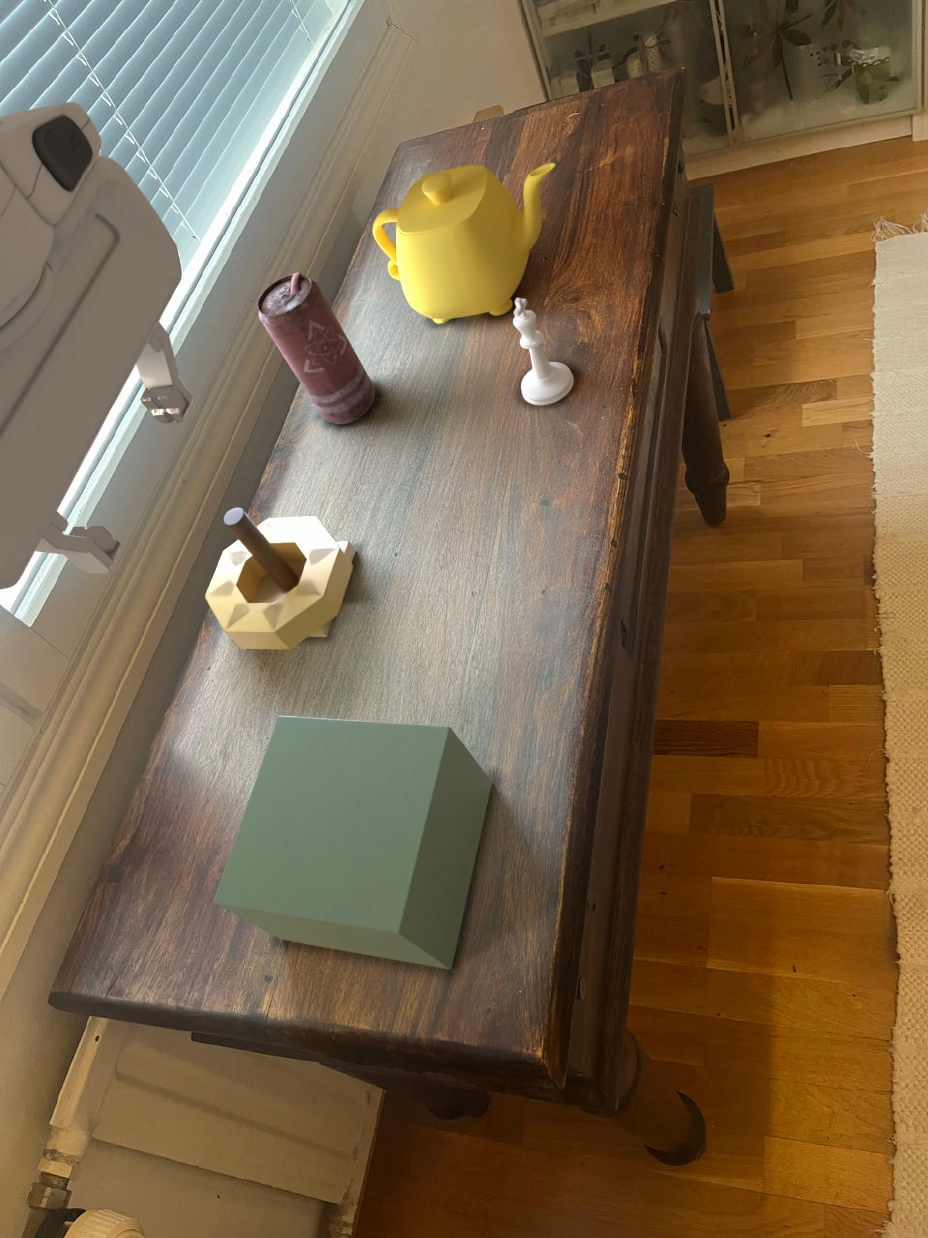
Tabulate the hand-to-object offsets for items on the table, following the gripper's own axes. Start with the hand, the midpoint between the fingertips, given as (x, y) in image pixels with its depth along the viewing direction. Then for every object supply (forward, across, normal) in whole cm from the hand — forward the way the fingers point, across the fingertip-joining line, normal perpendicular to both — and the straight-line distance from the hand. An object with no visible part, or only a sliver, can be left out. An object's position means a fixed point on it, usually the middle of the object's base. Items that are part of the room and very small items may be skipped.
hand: (144, 483), depth 46 cm
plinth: (+31, -9, -2) cm, 32 cm away
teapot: (+31, +52, +3) cm, 61 cm away
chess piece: (+31, +37, -6) cm, 49 cm away
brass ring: (+30, +13, +13) cm, 35 cm away
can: (+31, +37, +15) cm, 51 cm away
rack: (+31, +14, +13) cm, 36 cm away
